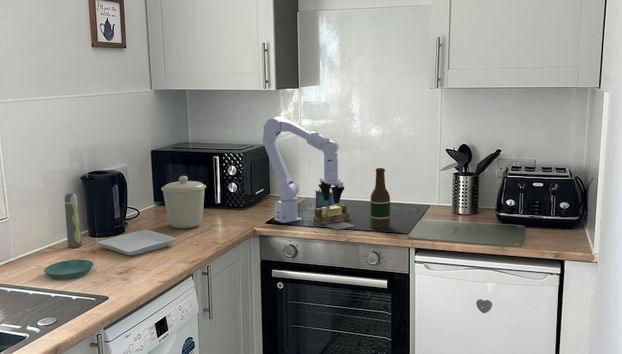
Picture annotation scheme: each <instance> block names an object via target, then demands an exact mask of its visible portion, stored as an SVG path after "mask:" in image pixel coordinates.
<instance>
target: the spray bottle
mask: <svg viewBox="0 0 622 354" xmlns="http://www.w3.org/2000/svg"><path fill="white" fill-rule="evenodd" d="M64 207H65V208H64V211H65V220H66V221H65V224H66V238H67V247H68V248H70V249H76V248H80V247H82V246H83V240H82V239H83V238H82V231H81V223H80V222H81V221H80V210H79V204H78V196H77V194H76V193H66V194H65V196H64Z"/></svg>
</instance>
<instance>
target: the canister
mask: <svg viewBox="0 0 622 354" xmlns="http://www.w3.org/2000/svg"><path fill="white" fill-rule="evenodd" d="M206 188H207V185H206V184H204V183H202V182H201V181H196V180H195V181H193V180H188V176H186V175H181V176H179V178H178V181H174V182H169V183H167V184H165V185H164V186H162V187H161V191H162V192H163V198H164V199H163V201H164V205H165V210H166V214H167V215H166V217H167V219H168V223H169V225H170V226H171V227H172V228H175V229H182V230H183V229H192V228H195V227H198V226H200V225H201V223H203V222H202V221H203V217H204V202H205V189H206Z"/></svg>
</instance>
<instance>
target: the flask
mask: <svg viewBox="0 0 622 354" xmlns="http://www.w3.org/2000/svg"><path fill="white" fill-rule="evenodd" d="M334 205H335V204H334V199H333V193H332V190H330V197H329V200H327V201H324V198H323V194H322V191H321V189H317V190H315V209H317V208H320V209H321V207H327V206H334Z"/></svg>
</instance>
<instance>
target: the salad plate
mask: <svg viewBox="0 0 622 354" xmlns="http://www.w3.org/2000/svg"><path fill="white" fill-rule="evenodd" d="M177 240H178V238H177V237H174V236H171V235H168V234H164V233H160V232H157V231H153V230H150V229H149V230H148V229H142V230H139V231H138V230H137V231H133V232H129V233H126V234H122V235H118V236H117V235H116V236H113V237H110V238H107V239H106V238H105V239H103V240H99V241H97V245H99V246H100V247H102V248H104V249H108V250H111V251H114V252H117V253H120V254H123V255H126V256H133V257H134V256H137V255H141V254H145V253H149V252H153V251H156V250H159V249H163V248H165V247H168V246H171V245H172V244H174V243H176V242H177Z"/></svg>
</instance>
